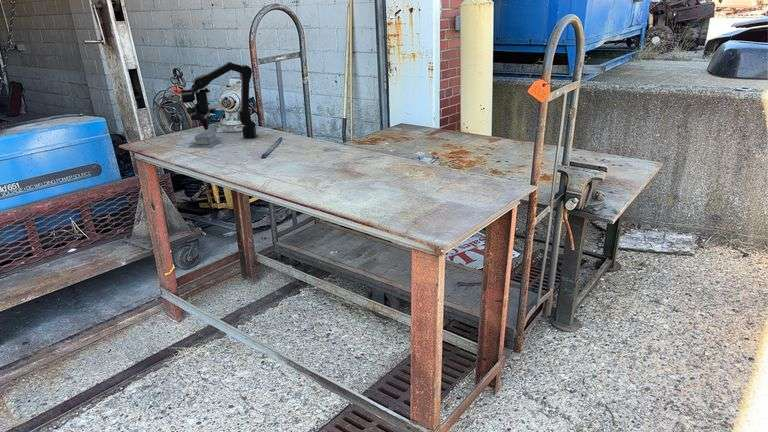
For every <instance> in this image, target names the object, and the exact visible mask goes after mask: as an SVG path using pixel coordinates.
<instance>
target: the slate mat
mask: <svg viewBox="0 0 768 432" xmlns="http://www.w3.org/2000/svg"><path fill="white" fill-rule="evenodd" d="M220 143H221V140H216V141H215V142H213V143H211V144H209V145H204V144H196V143H195V142H194V143H192V144H191V145H189V146H188V148H205V149H206V148H208V149H212V148H213V147H215V146H216V145H218V144H220Z"/></svg>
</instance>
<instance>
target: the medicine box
mask: <svg viewBox="0 0 768 432" xmlns="http://www.w3.org/2000/svg"><path fill="white" fill-rule="evenodd" d="M216 136H217V135H216V133H214V132H211V133H210V132H201V133H199V134H197V135H194V141H195V142H194V143H196V144H204V145H209V144H211V143H213V142H215V141H217V138H216Z"/></svg>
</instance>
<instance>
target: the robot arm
mask: <svg viewBox="0 0 768 432" xmlns="http://www.w3.org/2000/svg"><path fill="white" fill-rule="evenodd" d="M230 71H233V72H237V73H239V79H240V82H241V83H240V86H241V91H240V97H241V98H240V109H239V110H236V111H237V116H236V118H237V119H238V121H239V123H241V124H242V125H243V126H242V136H243V137H242V138H243V139H255V138H256V137H258V136H259V135H258V134H257V128H256V123H255V121H253V120H252V117H251V112H250V107H249V106H250V105H249V104H250V83H251V82H250V81H251V79H252V75H253V70H252V68H251V66H249V65H247V64H242V65H241V64H236V63H233V62H231V61H227V62H226V63H225V64H223V65H221V66H219V67H218V68H216V69H214V70H212V71H210V72H208V73H205V74H202V75H199V76H195V77H194V78H193V80H192V83H193V84H192V85H191V87H190V88H189V89H180V98H181V100H180V101H181V103H182V104H187V103H188V104H189V103H194V101H195V100H196V103H195V104H194V106H192V107H191V106H188V107H186V113H187V114H189V116H190V120H191V121H200V122H201V124H202V127H203V129H204V130H205V131H207V130H208V129H209V126H210V123H211V121H212V118H213V115H216V114H218V110H217V109H216V108H215V107H209V105H211V103H210V102H209V101H208V95H207V93H211V91H210V89H208V88H207V86H208V85H209V84H211V82H213V80H215V79H218V78H219V77H222V76H223V75H225V74H226V73H228V72H230ZM210 114H213V115H210Z"/></svg>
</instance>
